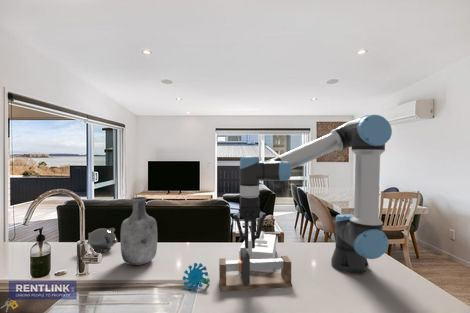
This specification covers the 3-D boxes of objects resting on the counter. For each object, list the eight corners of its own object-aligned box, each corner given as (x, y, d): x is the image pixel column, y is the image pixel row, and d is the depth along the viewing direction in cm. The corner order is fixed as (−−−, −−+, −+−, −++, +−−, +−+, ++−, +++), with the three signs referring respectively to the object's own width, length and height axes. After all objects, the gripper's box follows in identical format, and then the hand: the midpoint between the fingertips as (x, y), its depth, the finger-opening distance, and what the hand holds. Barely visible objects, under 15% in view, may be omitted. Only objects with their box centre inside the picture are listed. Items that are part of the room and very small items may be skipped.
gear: (177, 283, 101) (190, 258, 106) (183, 288, 105) (195, 264, 110) (200, 294, 95) (213, 267, 101) (206, 299, 99) (218, 274, 105)
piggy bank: (111, 255, 132) (111, 232, 132) (82, 254, 133) (81, 232, 133) (122, 247, 144) (121, 226, 143) (94, 247, 144) (94, 225, 144)
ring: (246, 272, 109) (246, 247, 109) (249, 284, 99) (249, 257, 99) (240, 272, 109) (240, 247, 108) (243, 284, 99) (243, 257, 98)
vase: (112, 267, 118) (111, 200, 118) (136, 254, 134) (135, 194, 133) (143, 272, 113) (142, 202, 113) (164, 257, 129) (163, 196, 128)
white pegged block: (239, 270, 116) (239, 245, 115) (248, 249, 140) (248, 228, 140) (272, 273, 113) (272, 247, 112) (275, 251, 137) (275, 230, 137)
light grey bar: (284, 265, 107) (284, 257, 107) (287, 269, 103) (287, 260, 103) (222, 268, 105) (222, 260, 104) (222, 272, 101) (222, 263, 101)
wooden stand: (285, 275, 110) (285, 253, 110) (292, 287, 100) (292, 264, 100) (219, 278, 108) (219, 256, 108) (220, 291, 98) (219, 267, 98)
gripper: (264, 194, 108) (264, 252, 108) (232, 194, 106) (232, 253, 107) (268, 197, 100) (268, 259, 101) (233, 198, 99) (233, 261, 99)
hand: (249, 256), depth 104 cm, fingers closed
